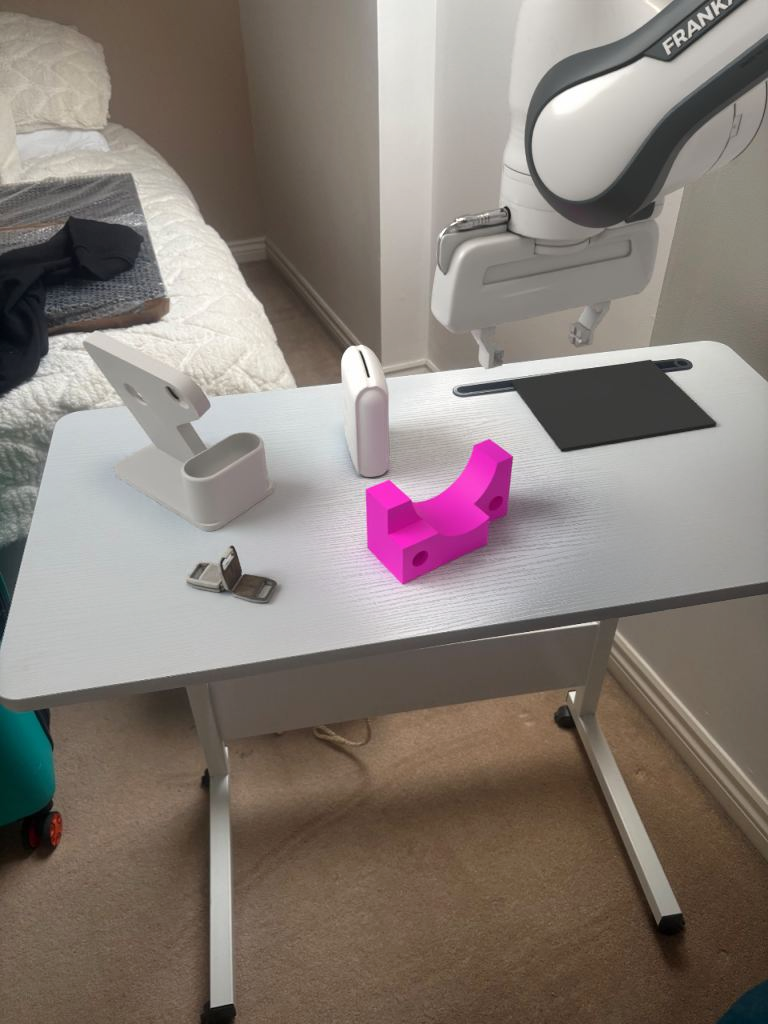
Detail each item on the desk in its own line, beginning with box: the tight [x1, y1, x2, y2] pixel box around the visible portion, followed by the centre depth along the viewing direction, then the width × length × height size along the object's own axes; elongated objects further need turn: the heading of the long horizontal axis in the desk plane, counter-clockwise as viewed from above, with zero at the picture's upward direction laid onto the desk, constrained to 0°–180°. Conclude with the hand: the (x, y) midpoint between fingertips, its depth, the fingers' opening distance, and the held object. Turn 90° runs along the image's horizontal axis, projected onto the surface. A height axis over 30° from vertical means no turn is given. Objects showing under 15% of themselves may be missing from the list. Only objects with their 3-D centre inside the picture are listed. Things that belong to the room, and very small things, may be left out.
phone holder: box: [82, 330, 275, 532], centre depth 86 cm, size 17×10×18 cm, turn 51°
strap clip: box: [185, 545, 278, 603], centre depth 78 cm, size 8×3×4 cm, turn 72°
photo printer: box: [340, 344, 390, 478], centre depth 92 cm, size 10×4×12 cm, turn 11°
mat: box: [510, 359, 717, 453], centre depth 103 cm, size 20×16×1 cm
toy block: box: [365, 438, 514, 585], centre depth 82 cm, size 15×6×8 cm, turn 123°
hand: (535, 354), depth 75 cm, fingers open, 8 cm apart
